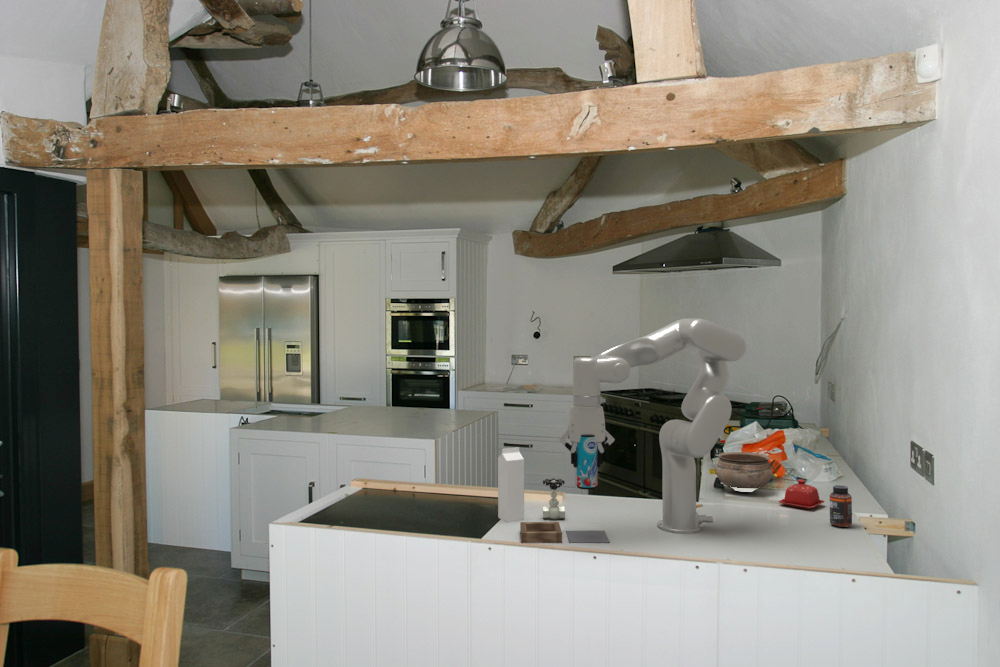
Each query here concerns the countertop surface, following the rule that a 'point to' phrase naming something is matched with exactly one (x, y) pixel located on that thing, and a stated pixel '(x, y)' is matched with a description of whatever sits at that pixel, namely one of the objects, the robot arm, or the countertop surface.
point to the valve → (553, 501)
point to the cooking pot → (744, 469)
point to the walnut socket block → (540, 532)
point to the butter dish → (801, 495)
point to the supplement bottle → (840, 507)
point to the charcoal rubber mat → (587, 536)
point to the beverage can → (586, 463)
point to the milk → (511, 485)
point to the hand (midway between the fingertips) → (586, 465)
